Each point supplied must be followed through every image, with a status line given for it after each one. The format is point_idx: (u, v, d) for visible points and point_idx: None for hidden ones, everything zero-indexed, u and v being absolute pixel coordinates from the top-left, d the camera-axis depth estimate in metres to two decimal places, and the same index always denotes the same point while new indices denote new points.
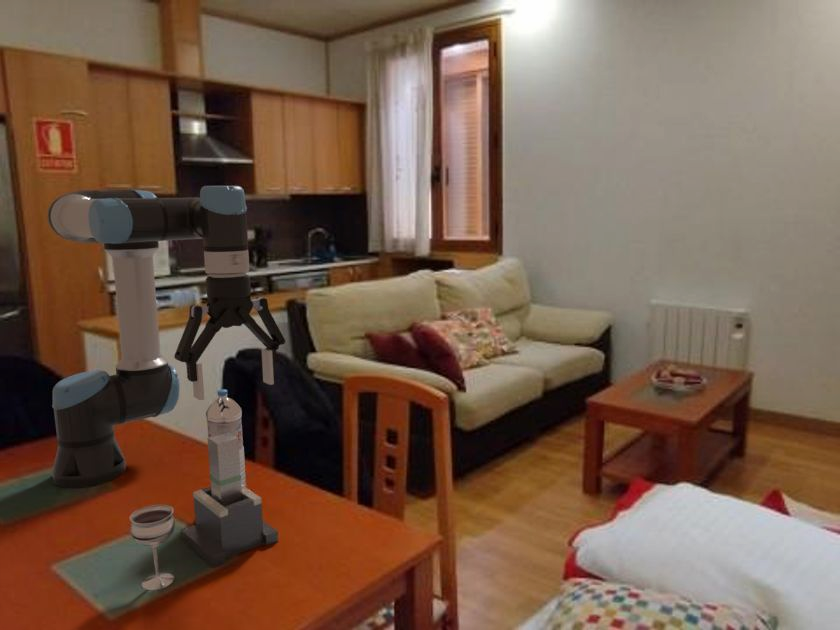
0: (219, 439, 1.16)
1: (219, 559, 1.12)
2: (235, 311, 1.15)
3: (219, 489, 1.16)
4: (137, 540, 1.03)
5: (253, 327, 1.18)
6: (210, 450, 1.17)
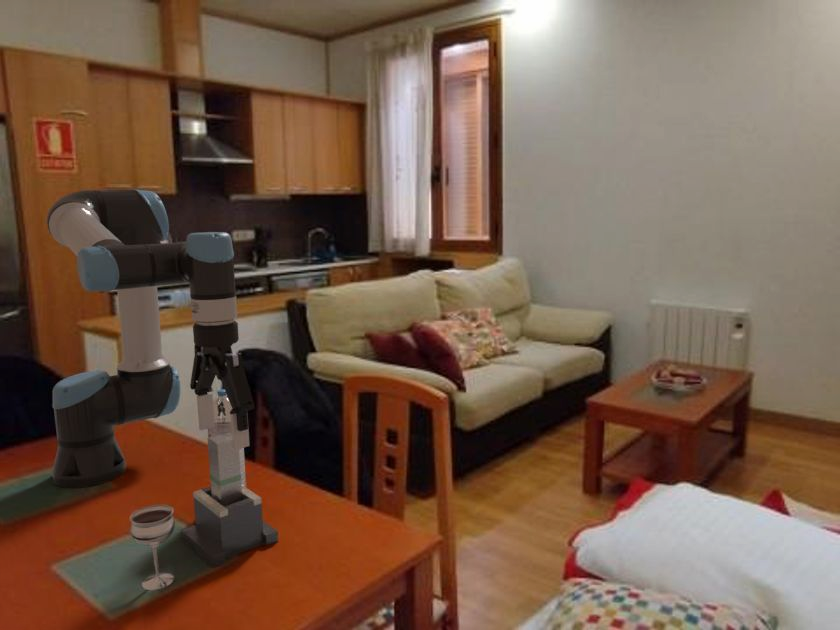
0: (219, 439, 1.16)
1: (219, 559, 1.12)
2: None
3: (219, 489, 1.16)
4: (137, 540, 1.03)
5: (222, 381, 1.11)
6: (210, 450, 1.17)
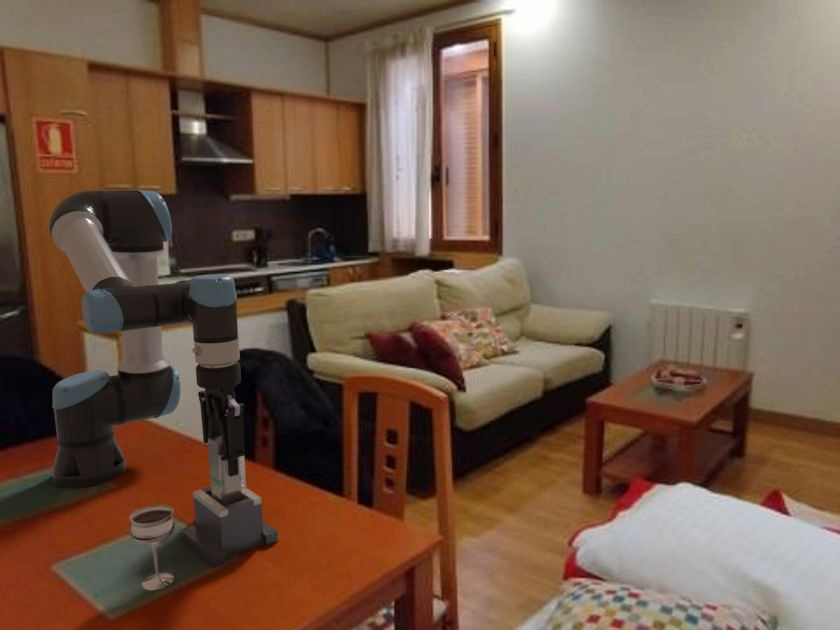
0: (219, 439, 1.16)
1: (219, 559, 1.12)
2: (215, 398, 1.14)
3: (219, 489, 1.16)
4: (137, 540, 1.03)
5: (219, 424, 1.14)
6: (210, 450, 1.17)
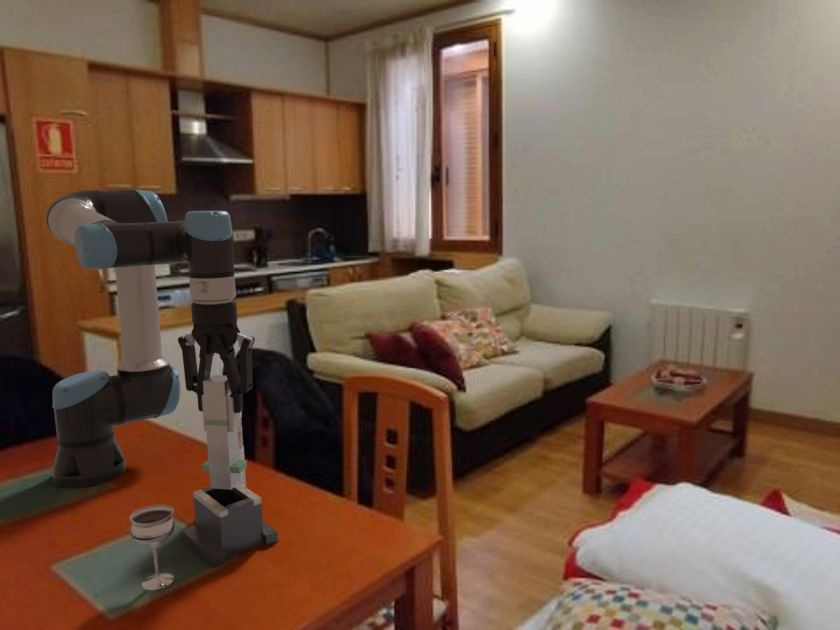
0: (218, 379, 1.14)
1: (219, 559, 1.12)
2: (215, 336, 1.12)
3: (224, 429, 1.14)
4: (137, 540, 1.03)
5: (224, 362, 1.13)
6: (208, 393, 1.14)
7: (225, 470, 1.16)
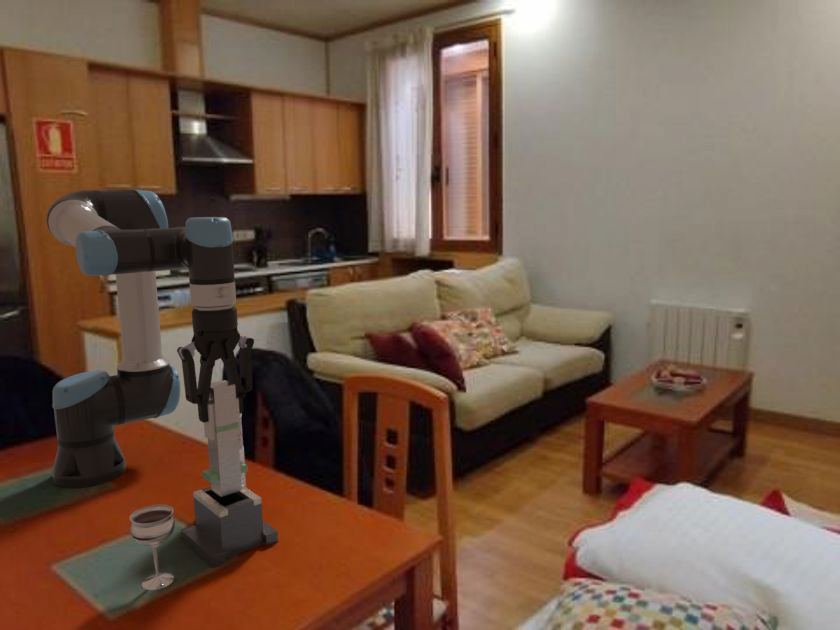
0: (222, 385, 1.15)
1: (219, 559, 1.12)
2: (222, 341, 1.13)
3: (235, 431, 1.16)
4: (137, 540, 1.03)
5: (230, 365, 1.15)
6: (219, 399, 1.13)
7: (236, 472, 1.17)
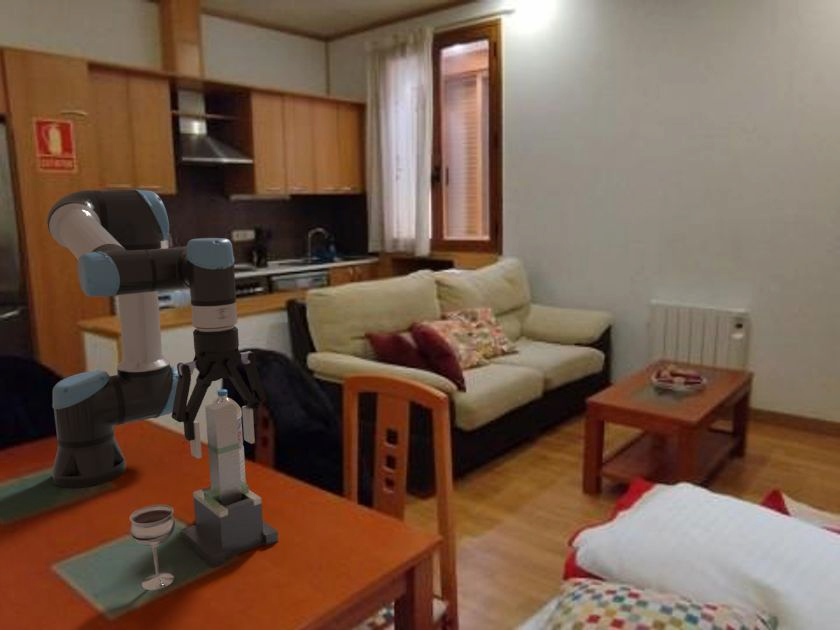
0: (223, 406, 1.15)
1: (219, 559, 1.12)
2: (223, 363, 1.14)
3: (236, 453, 1.17)
4: (137, 540, 1.03)
5: (237, 382, 1.16)
6: (220, 421, 1.14)
7: (237, 493, 1.18)
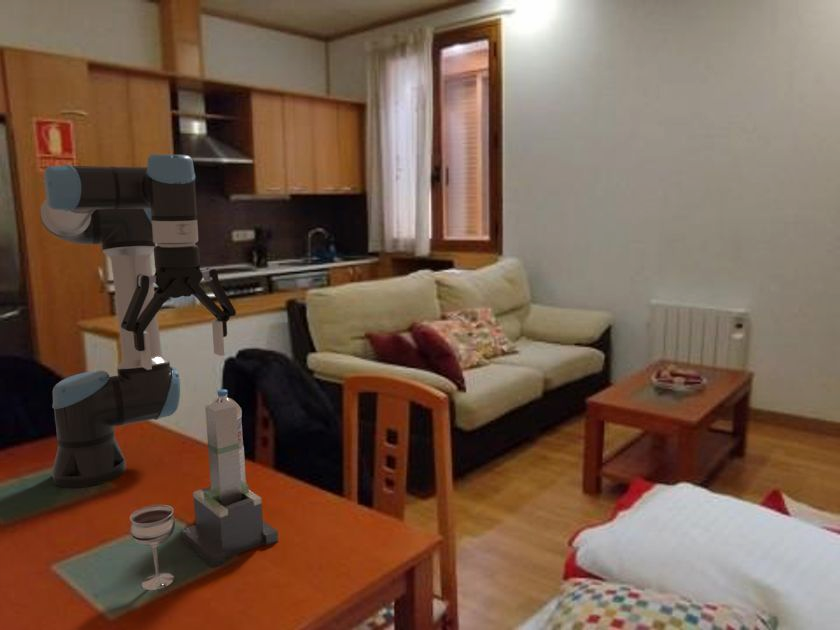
0: (223, 406, 1.15)
1: (219, 559, 1.12)
2: (184, 281, 1.15)
3: (236, 453, 1.17)
4: (137, 540, 1.03)
5: (202, 298, 1.18)
6: (220, 421, 1.14)
7: (237, 493, 1.18)
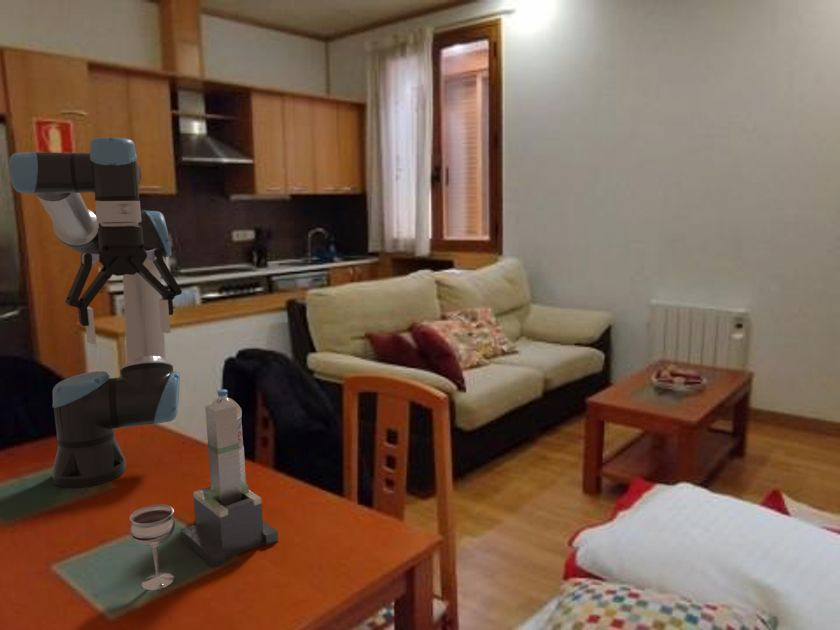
0: (223, 406, 1.15)
1: (219, 559, 1.12)
2: (127, 260, 1.20)
3: (236, 453, 1.17)
4: (137, 540, 1.03)
5: (147, 276, 1.23)
6: (220, 421, 1.14)
7: (237, 493, 1.18)
